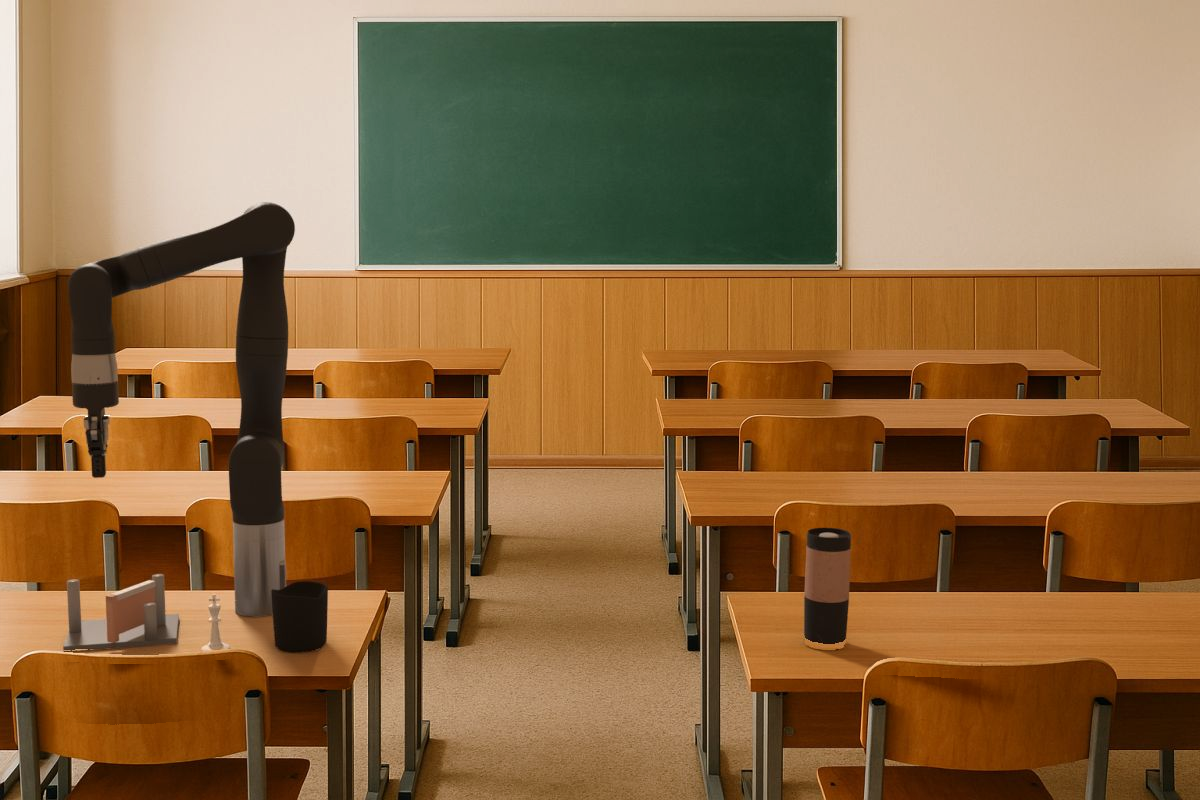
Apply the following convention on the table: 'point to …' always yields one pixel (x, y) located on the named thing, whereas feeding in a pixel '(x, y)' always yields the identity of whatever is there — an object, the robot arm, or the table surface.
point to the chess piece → (215, 628)
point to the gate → (127, 608)
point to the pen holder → (300, 616)
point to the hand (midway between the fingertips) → (99, 476)
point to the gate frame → (150, 633)
